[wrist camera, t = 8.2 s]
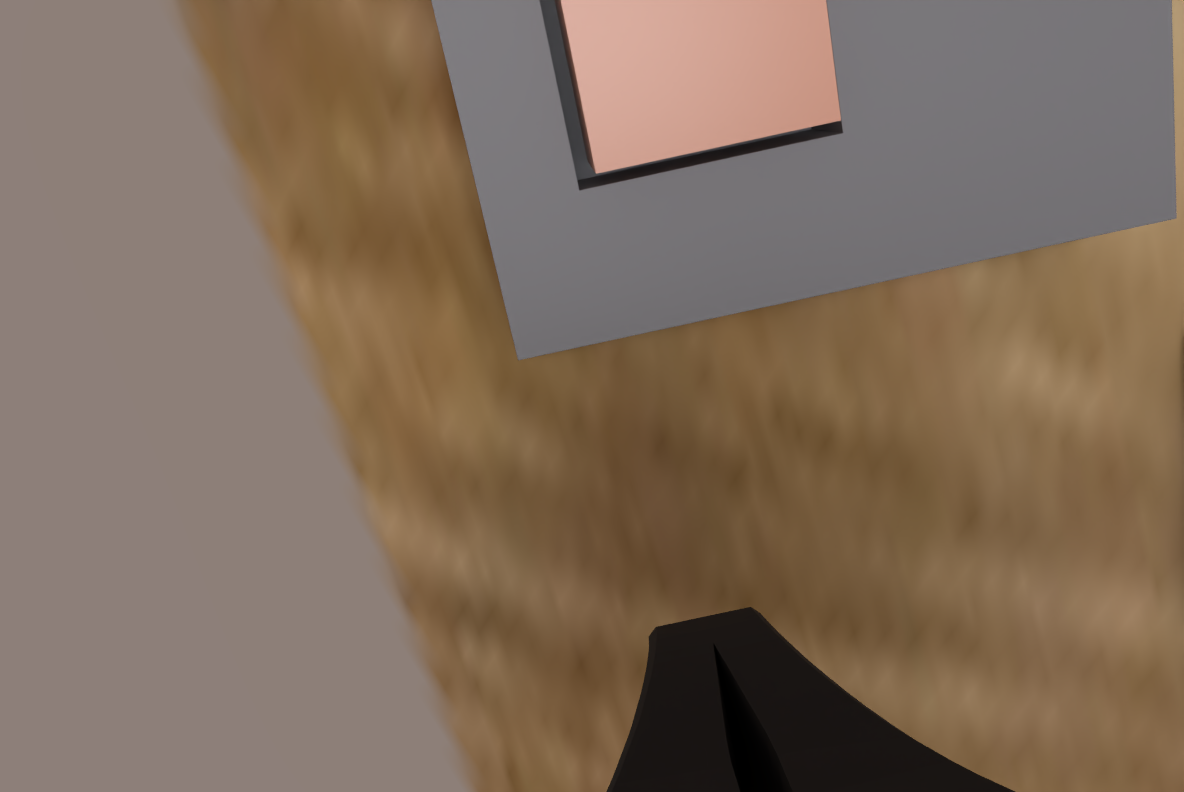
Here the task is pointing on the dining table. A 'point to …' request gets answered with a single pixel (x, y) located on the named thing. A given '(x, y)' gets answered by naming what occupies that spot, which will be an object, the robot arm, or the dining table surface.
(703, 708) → the robot arm
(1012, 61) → the key panel
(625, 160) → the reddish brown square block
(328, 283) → the dining table surface
